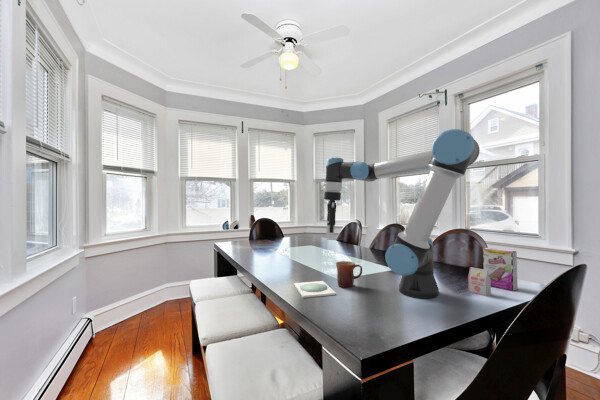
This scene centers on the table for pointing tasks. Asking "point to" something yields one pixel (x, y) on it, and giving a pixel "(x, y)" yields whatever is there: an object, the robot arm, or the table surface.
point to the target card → (314, 289)
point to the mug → (346, 273)
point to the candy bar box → (501, 267)
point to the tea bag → (479, 281)
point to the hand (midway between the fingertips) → (329, 237)
